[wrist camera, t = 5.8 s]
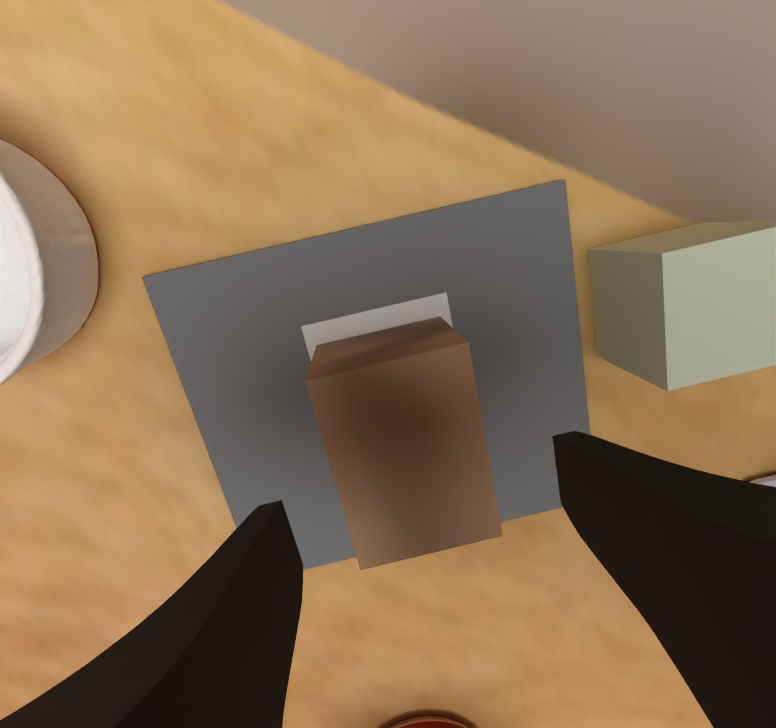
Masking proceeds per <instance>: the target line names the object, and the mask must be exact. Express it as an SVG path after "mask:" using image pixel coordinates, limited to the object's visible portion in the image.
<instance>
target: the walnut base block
mask: <svg viewBox="0 0 776 728" xmlns="http://www.w3.org/2000/svg"><path fill="white" fill-rule="evenodd" d="M305 382H306V385H307V389H308V392H309V396H310V399H311V403H312V406H313V409H314V413H315V416H316V420H317V423H318V427H319V430H320V433H321V437H322V440H323V444H324V447H325V450H326V454H327V457H328V461H329V464H330V468H331V471H332V474H333V478H334V481H335V485H336V488H337V492H338V495H339V498H340V502H341V505H342V509H343V512H344V516H345V519H346V522H347V526H348V529H349V533H350V536H351V539H352V543H353V546H354V550H355V553H356V557H357V560H358V563H359V567H360V570H363V569H367V568H371V567H375V566H380V565H384V564H388V563H392V562H396V561H400V560H404V559H408V558H413V557H417V556H421V555H425V554H429V553H433V552H437V551H441V550H446V549H450V548H454V547H458V546H462V545H466V544H470V543H474V542H479V541H483V540H487V539H491V538H495V537H499V536H502V530H501V525H500V519H499V513H498V507H497V502H496V496H495V490H494V484H493V479H492V473H491V467H490V461H489V456H488V450H487V444H486V438H485V433H484V427H483V421H482V415H481V410H480V404H479V398H478V392H477V387H476V381H475V375H474V369H473V363H472V358H471V352H470V346H469V342H468V341H467V340H466V339H465V338H463V337H462V336H461V335H460V334H459V333H458V332H457V331H456V330H455V329H454V328H452V327H451V326H450V325H449V324H448V323H447V322H446V321H445V320H444V319H443V318H442V317H440V316H439V317H435V318H430V319H426V320H422V321H418V322H413V323H409V324H405V325H401V326H396V327H392V328H388V329H384V330H379V331H375V332H371V333H367V334H362V335H358V336H354V337H349V338H345V339H341V340H337V341H332V342H328V343H324V344H320V345H316V348H315V352H314V355H313V358H312V361H311V364H310V368H309V371H308V374H307V377H306V380H305Z"/></svg>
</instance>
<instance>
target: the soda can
mask: <svg viewBox="0 0 776 728" xmlns="http://www.w3.org/2000/svg"><path fill="white" fill-rule="evenodd" d="M389 728H468V727H467V726H465V725H464V724H462V723H460V722H458V721H456V720H453V719H449V718H446V717H440V716H420V717H414V718H409V719H406V720H403V721H400V722H398V723H396V724H394V725H392V726H390V727H389Z"/></svg>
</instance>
